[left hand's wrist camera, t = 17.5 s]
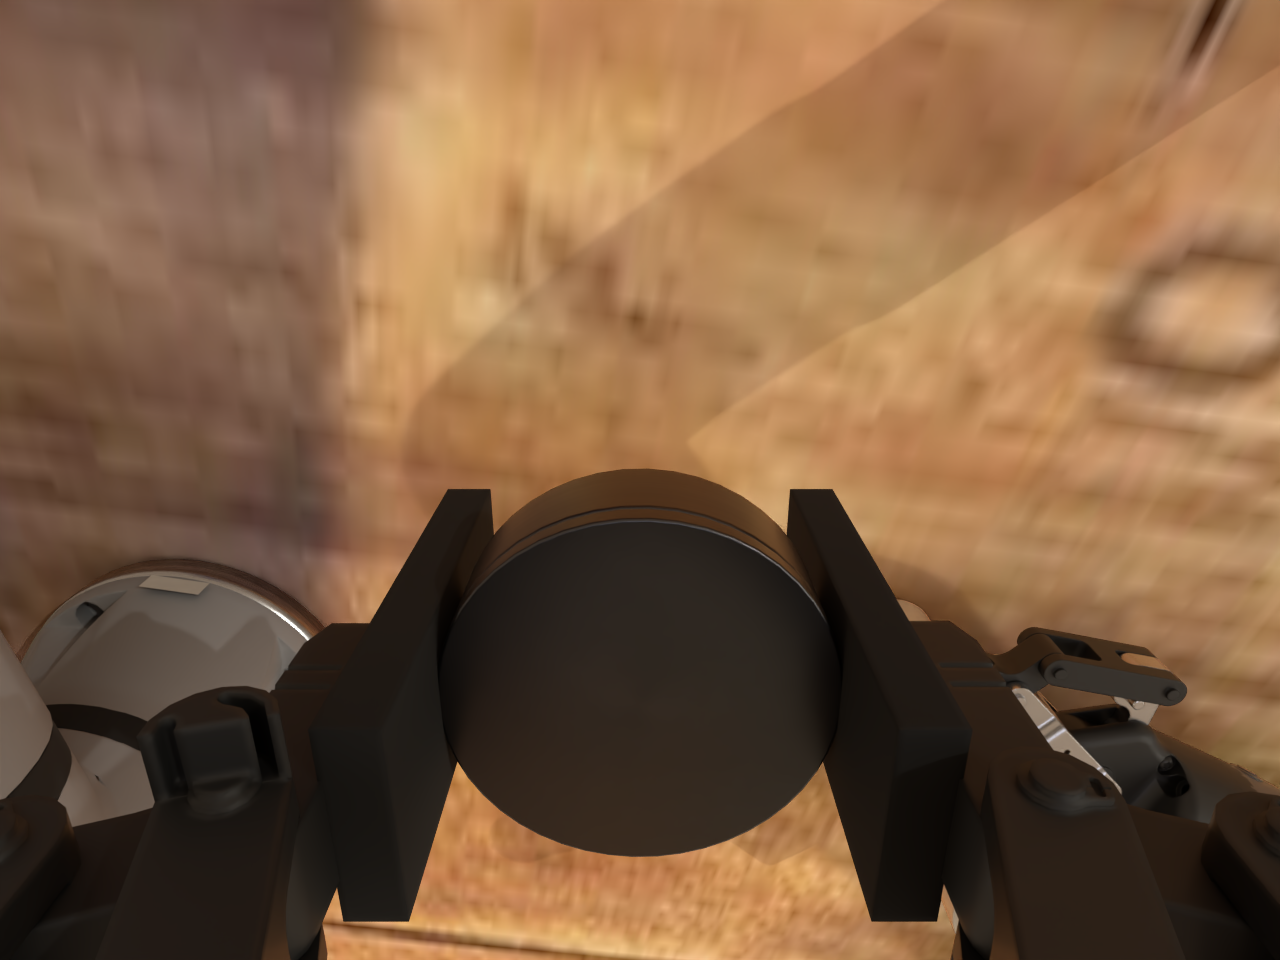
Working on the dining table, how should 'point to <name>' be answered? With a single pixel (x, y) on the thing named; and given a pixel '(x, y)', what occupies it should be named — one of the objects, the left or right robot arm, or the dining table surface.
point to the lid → (640, 666)
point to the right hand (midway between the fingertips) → (876, 701)
